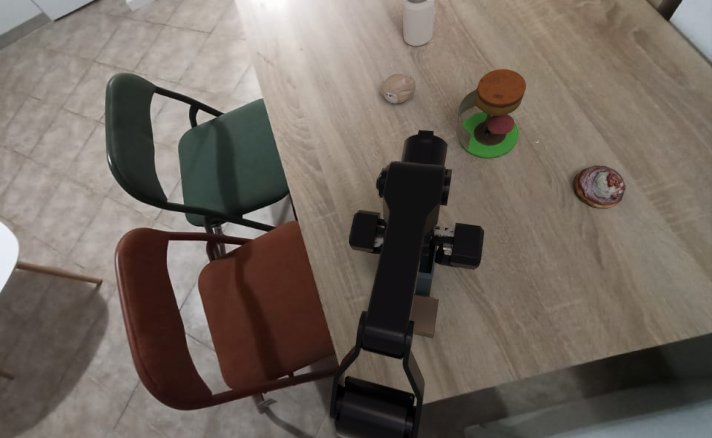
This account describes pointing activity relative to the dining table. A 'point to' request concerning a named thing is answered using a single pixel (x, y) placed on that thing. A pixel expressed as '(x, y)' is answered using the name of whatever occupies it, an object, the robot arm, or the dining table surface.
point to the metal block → (424, 315)
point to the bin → (426, 271)
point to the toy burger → (491, 114)
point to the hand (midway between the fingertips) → (413, 255)
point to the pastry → (599, 186)
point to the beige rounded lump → (398, 88)
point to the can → (418, 21)
